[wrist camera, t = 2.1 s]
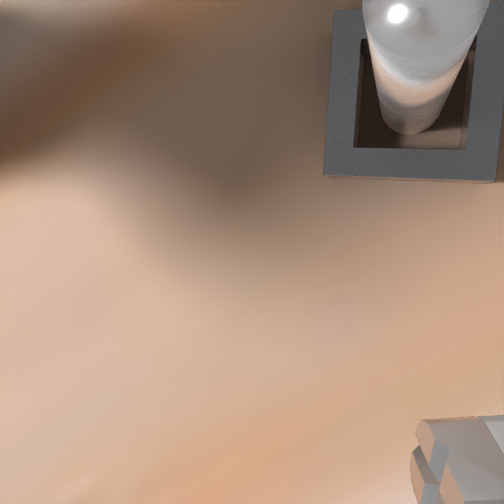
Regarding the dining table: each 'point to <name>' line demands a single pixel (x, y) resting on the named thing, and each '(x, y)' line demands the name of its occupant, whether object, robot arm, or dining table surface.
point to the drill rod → (418, 55)
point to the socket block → (416, 160)
